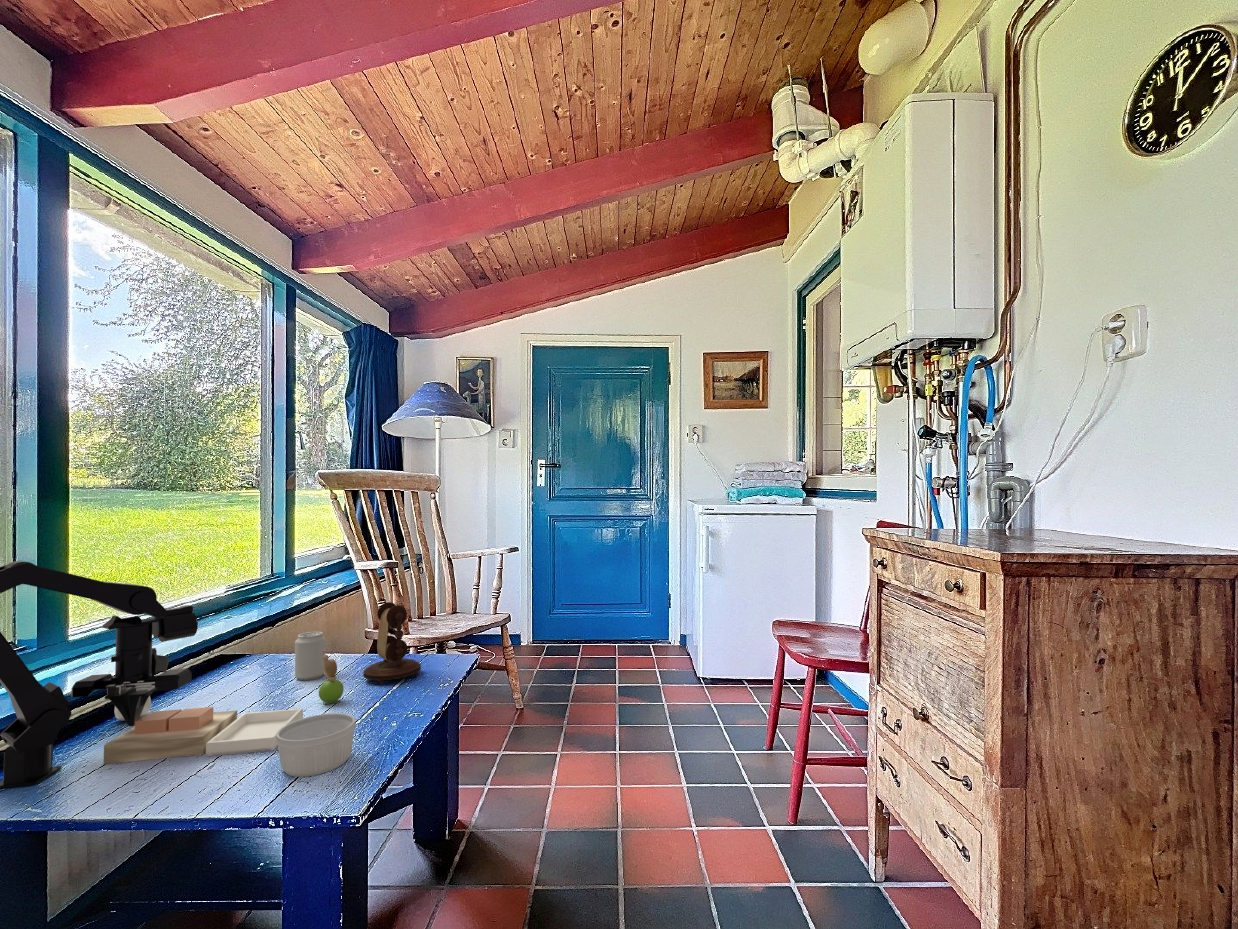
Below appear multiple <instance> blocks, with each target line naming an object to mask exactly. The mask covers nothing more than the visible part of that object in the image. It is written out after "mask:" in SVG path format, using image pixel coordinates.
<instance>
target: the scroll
mask: <svg viewBox="0 0 1238 929" xmlns="http://www.w3.org/2000/svg"><path fill="white" fill-rule="evenodd" d="M376 615H377V618H378V620H379V625H378V631H377V642H376V643H377V644H376V650H377V652H376V653H377V654H378V656H379V657H380V658H381V659H383V660H380V661H378V662H374V663H372V664H370V665H368V667H366V668H364V669H363V674H362V675H363V676H362V677H364V679H367V680H369V681H379V685H380V686H383V684H384V683H385V681H390V680H391V681H392V680H397V679H402V678H406V677H410V676H413V675H414V677H415V678H417V677H418V675H419V672H420V671H421V669H422V666H421V662H419V661H416V660H414V659H411V658H404V657H405V656H406V655H407V652H408V644H407V642H406V641H405V640H402V639H403V637H404V631H403V630H402V629H403V624H404V623H405V622H406V620H407V618H408V617H407V616H408V611H407V609H406V608H405V607H404V606H403V605H399V604H395V603H393V602H390V601H388V602H387V601H386V602H385V603H382V605H380V606H379V608H378V609H377V614H376ZM388 634H389V635H388Z"/></svg>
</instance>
